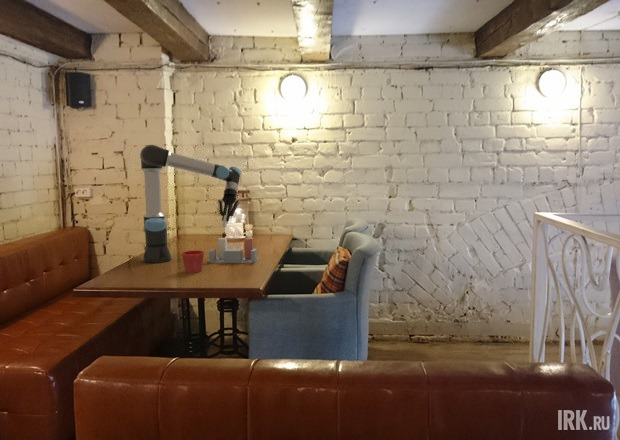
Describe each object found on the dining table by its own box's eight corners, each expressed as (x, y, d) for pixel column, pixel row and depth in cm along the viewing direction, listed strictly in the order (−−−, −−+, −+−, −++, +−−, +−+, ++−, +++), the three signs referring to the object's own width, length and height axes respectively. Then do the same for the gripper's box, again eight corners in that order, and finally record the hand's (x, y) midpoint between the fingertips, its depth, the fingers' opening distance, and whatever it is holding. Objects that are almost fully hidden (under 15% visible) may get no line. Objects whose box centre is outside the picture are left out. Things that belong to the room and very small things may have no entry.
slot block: (209, 263, 274) (209, 251, 273) (215, 258, 286) (215, 247, 285) (254, 263, 272) (254, 250, 271) (259, 258, 284) (258, 247, 283)
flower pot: (199, 273, 247) (198, 254, 246) (178, 273, 249) (177, 253, 248) (208, 269, 258) (207, 250, 256) (188, 268, 260) (187, 250, 259)
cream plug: (218, 258, 281) (217, 239, 280) (220, 257, 286) (219, 238, 284) (225, 258, 281) (225, 239, 280) (227, 257, 285) (227, 238, 284)
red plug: (244, 258, 280) (244, 239, 279) (246, 257, 284) (245, 237, 283) (252, 258, 280) (251, 239, 278) (253, 257, 284) (253, 237, 283)
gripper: (218, 187, 301) (211, 223, 291) (239, 187, 299) (233, 223, 288) (222, 193, 308) (215, 228, 297) (243, 194, 305) (236, 229, 295)
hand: (224, 226), depth 293 cm, fingers closed
